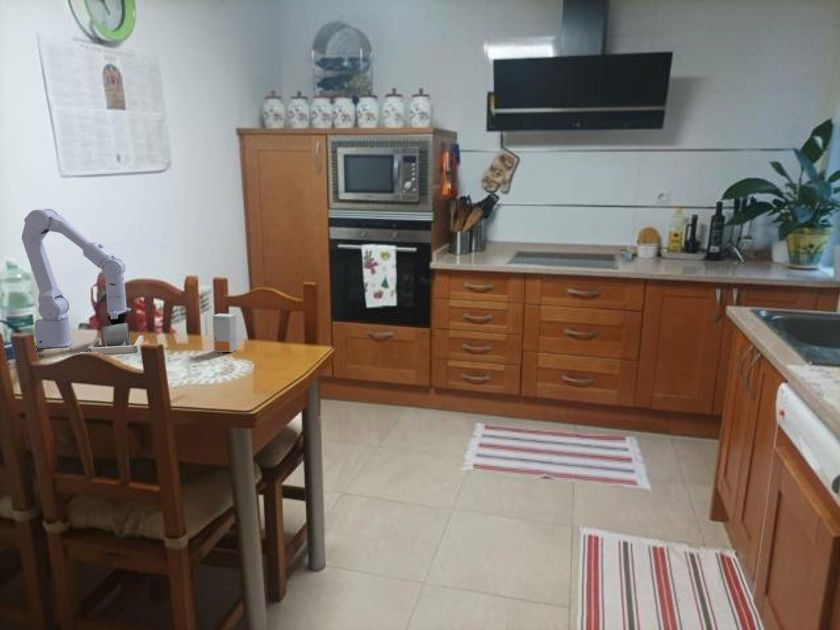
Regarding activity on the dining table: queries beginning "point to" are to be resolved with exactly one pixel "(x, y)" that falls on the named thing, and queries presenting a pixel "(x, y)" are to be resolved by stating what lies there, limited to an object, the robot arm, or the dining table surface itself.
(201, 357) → the dining table surface
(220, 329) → the skincare box
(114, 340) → the ceramic mug
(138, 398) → the dining table surface
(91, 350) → the holder
